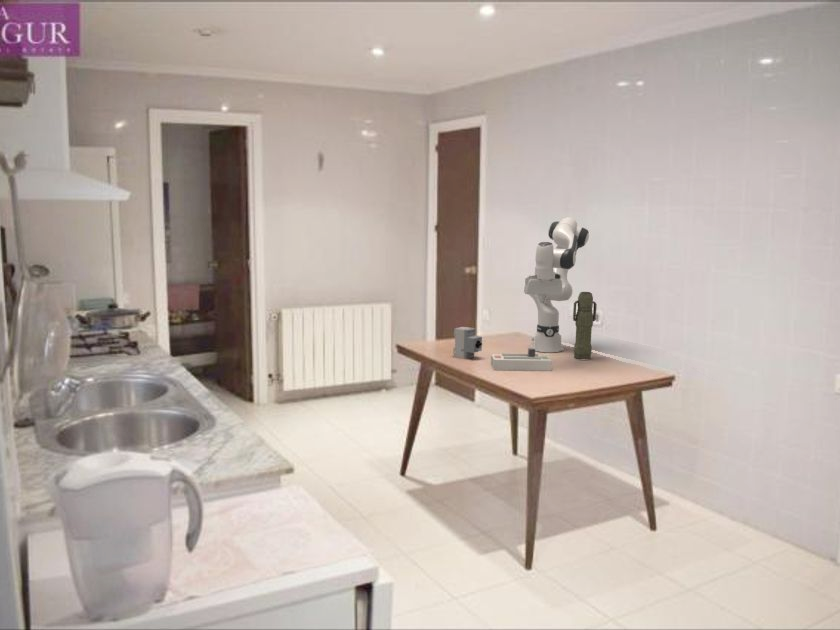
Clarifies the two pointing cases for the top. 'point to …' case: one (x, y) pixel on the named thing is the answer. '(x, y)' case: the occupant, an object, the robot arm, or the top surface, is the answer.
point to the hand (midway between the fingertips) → (542, 302)
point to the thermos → (584, 325)
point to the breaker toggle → (531, 352)
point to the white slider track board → (521, 362)
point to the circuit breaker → (466, 342)
